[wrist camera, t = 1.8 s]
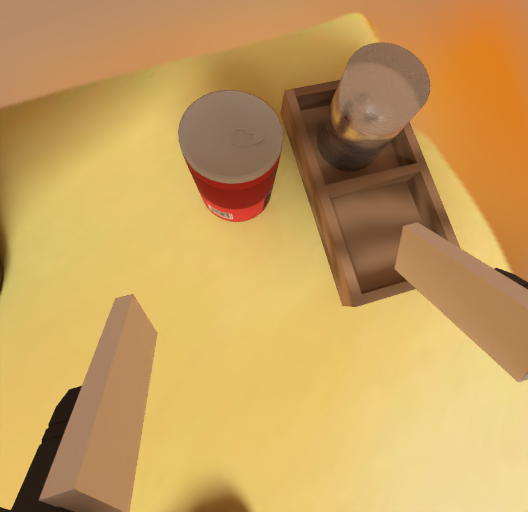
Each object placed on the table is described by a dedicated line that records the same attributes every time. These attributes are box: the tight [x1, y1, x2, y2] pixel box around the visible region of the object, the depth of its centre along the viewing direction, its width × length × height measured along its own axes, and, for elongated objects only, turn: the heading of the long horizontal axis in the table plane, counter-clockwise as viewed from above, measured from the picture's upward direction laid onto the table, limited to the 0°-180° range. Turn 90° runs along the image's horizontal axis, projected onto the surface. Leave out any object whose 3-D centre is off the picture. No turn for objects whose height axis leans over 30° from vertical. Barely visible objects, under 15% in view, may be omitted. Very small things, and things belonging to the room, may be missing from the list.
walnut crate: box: [281, 80, 461, 307], centre depth 29 cm, size 25×13×4 cm, turn 16°
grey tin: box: [317, 43, 430, 172], centre depth 26 cm, size 8×8×9 cm
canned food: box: [178, 90, 283, 222], centre depth 24 cm, size 8×8×11 cm
